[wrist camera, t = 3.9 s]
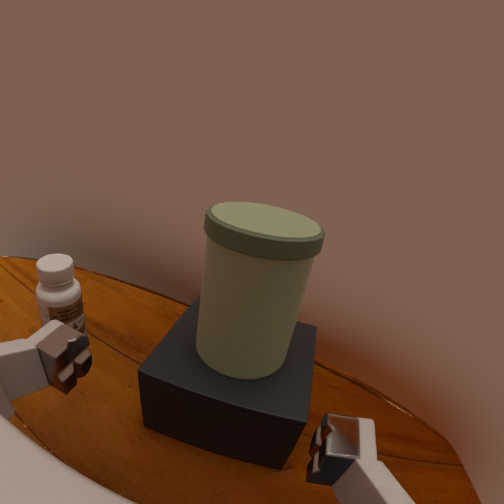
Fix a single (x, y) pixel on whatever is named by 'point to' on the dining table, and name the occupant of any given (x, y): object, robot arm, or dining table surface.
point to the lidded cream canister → (253, 285)
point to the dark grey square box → (227, 397)
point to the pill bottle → (59, 292)
